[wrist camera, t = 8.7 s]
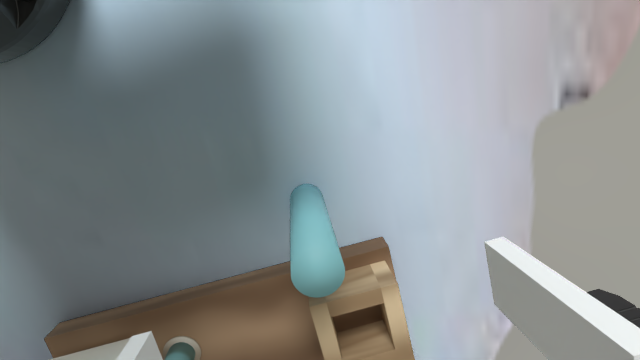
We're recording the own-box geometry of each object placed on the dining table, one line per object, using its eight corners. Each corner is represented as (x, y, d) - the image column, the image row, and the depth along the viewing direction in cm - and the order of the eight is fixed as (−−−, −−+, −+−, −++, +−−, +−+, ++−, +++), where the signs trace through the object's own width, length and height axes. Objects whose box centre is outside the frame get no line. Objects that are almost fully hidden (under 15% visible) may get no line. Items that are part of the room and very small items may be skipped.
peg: (286, 188, 29) (284, 255, 17) (318, 180, 29) (338, 241, 17) (294, 219, 30) (298, 303, 18) (326, 210, 30) (350, 289, 18)
